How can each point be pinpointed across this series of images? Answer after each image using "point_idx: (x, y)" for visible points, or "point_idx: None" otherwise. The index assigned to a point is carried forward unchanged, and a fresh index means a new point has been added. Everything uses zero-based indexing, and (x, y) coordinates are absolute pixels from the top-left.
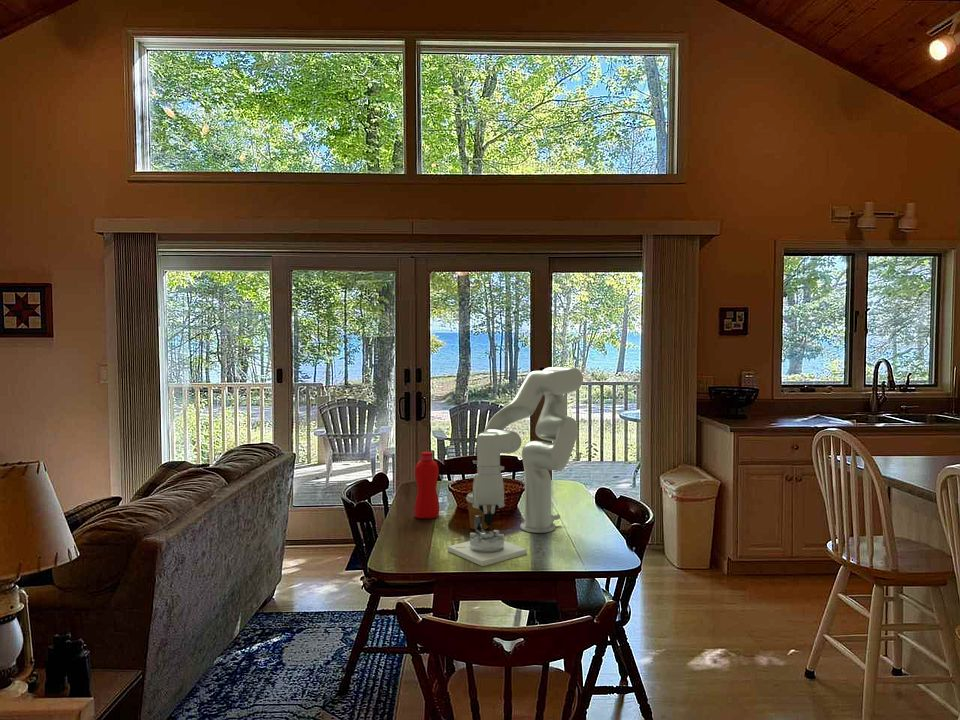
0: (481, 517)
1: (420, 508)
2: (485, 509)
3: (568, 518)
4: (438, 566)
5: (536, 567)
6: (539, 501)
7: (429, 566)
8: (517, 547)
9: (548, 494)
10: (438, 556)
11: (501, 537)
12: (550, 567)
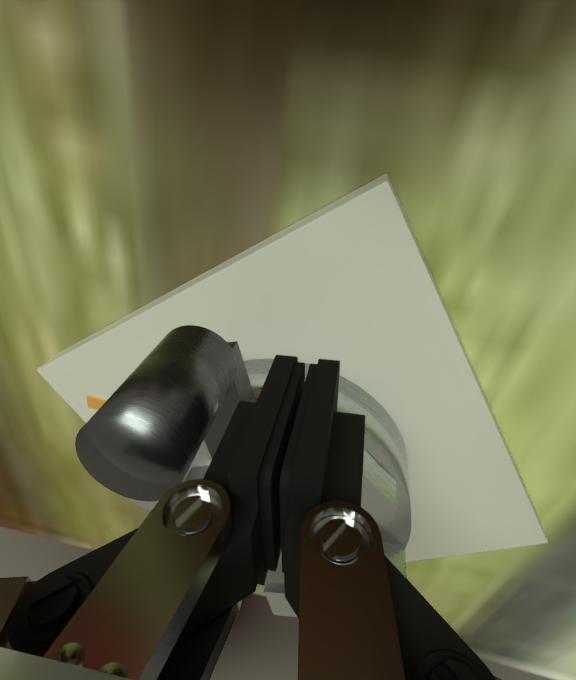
0: (183, 476)
1: None
2: (187, 658)
3: None
4: (63, 510)
5: (484, 637)
6: None
7: (28, 500)
8: (500, 504)
9: None
10: (30, 414)
11: None
12: (551, 656)
